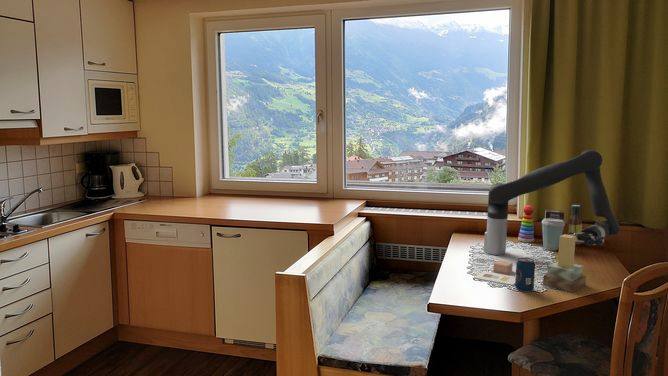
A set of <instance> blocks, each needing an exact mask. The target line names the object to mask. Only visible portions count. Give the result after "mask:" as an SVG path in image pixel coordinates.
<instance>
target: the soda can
mask: <svg viewBox="0 0 668 376" xmlns="http://www.w3.org/2000/svg"><path fill="white" fill-rule="evenodd" d="M515 265H516V267H515V277H516V278H515V284H514V286H515V288H516V290H517V291H520V292H523V293H524V292H525V293H526V292H527V293H528V292H532V291H533V290H534V287H535V276H536V275H535V274H536V262H535V260H534V259H533V258H531V257H523V256H522V257H519V258H518V260H517V261H516V263H515Z"/></svg>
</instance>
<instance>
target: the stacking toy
mask: <svg viewBox="0 0 668 376" xmlns="http://www.w3.org/2000/svg"><path fill="white" fill-rule="evenodd" d="M522 210H523V215H522V218H521V226H520V230H519V232H518V237H517V239H518V241H520V242H522V243H534V241H535V238H534V237H535V235H534V233H535V230H534V229H535V227H534V224H535V223H534V220H533V218H534V215H533V213H534V212H535V211H534V207H533V206H532V205H530V204H527V205H525V206H524V207H523V208H522Z"/></svg>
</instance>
